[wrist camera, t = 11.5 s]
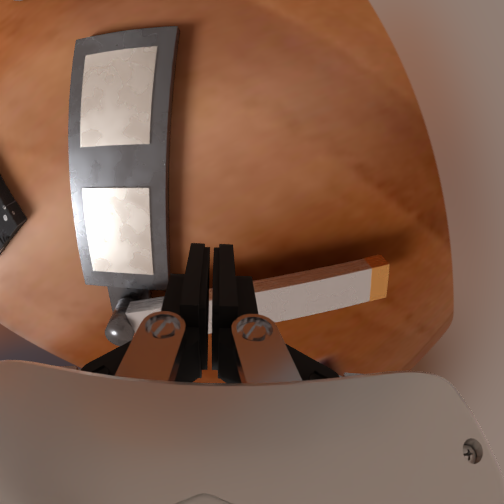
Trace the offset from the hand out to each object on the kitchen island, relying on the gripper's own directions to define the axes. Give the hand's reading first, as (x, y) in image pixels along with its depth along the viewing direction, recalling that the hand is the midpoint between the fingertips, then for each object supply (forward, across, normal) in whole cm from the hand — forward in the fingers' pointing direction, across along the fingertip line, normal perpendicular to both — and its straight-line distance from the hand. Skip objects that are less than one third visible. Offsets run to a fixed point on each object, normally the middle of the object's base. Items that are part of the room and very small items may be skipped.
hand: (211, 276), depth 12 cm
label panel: (+16, +10, +1) cm, 19 cm away
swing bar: (+15, -3, +11) cm, 19 cm away
